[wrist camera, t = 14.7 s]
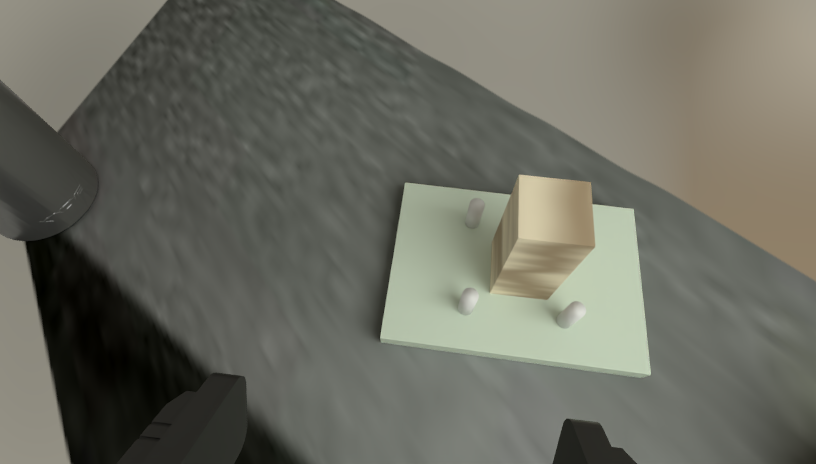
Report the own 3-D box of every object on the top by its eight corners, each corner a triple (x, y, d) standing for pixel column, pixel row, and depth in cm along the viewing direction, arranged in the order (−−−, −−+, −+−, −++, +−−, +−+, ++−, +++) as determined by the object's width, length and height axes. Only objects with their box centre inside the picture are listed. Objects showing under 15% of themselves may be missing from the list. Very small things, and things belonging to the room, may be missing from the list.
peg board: (381, 342, 35) (377, 327, 31) (405, 191, 41) (405, 162, 37) (641, 377, 34) (673, 367, 30) (625, 217, 40) (650, 190, 36)
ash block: (489, 293, 35) (518, 238, 26) (491, 242, 37) (519, 174, 28) (547, 300, 35) (595, 246, 26) (546, 248, 37) (590, 182, 28)
